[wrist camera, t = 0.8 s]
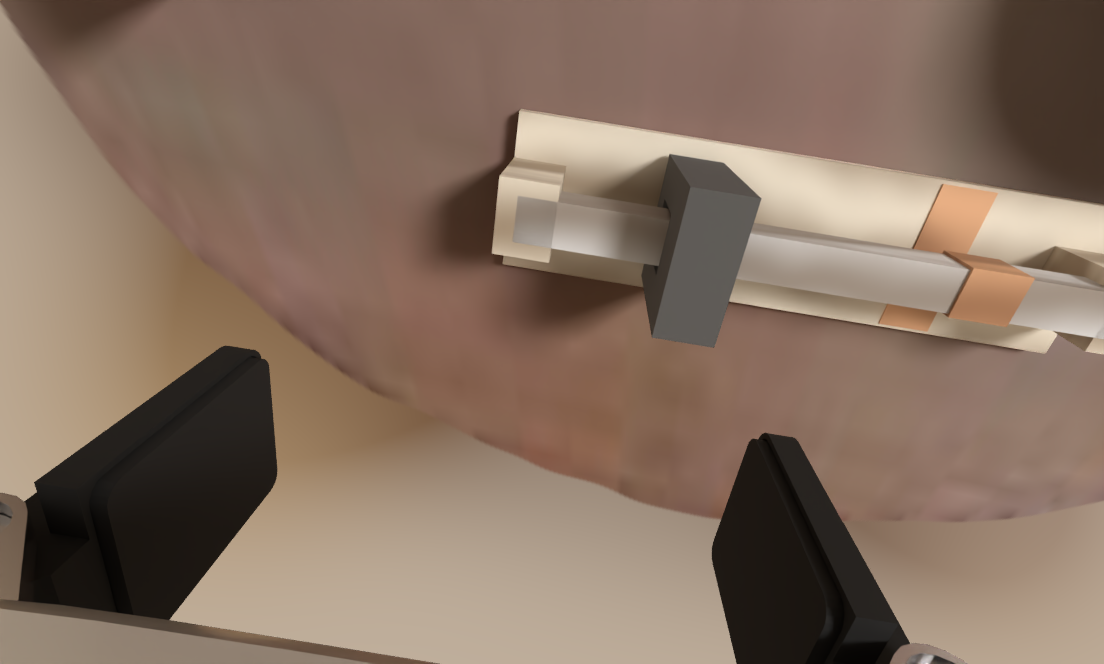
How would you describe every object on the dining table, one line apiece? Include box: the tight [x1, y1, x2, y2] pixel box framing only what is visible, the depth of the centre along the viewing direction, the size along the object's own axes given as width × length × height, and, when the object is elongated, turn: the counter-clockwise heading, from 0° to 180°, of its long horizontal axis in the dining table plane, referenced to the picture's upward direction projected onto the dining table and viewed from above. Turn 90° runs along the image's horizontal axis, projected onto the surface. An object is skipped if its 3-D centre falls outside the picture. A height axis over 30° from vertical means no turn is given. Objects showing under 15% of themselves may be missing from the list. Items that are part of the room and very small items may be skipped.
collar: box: [641, 154, 762, 348], centre depth 29 cm, size 7×3×8 cm, turn 172°
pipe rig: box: [492, 109, 1104, 354], centre depth 31 cm, size 9×34×6 cm, turn 82°
